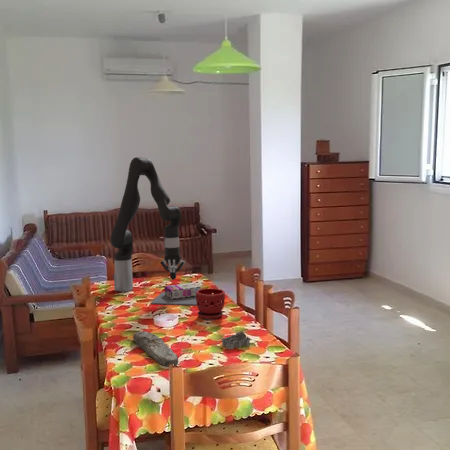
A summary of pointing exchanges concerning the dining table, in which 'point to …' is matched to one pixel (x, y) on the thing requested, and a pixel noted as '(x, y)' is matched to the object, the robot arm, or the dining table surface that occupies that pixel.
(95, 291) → the dining table surface
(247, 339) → the egg carton
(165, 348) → the long grey stone
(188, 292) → the candy bar box
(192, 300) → the rubber mat
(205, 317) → the plant pot
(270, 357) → the dining table surface
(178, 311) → the dining table surface
